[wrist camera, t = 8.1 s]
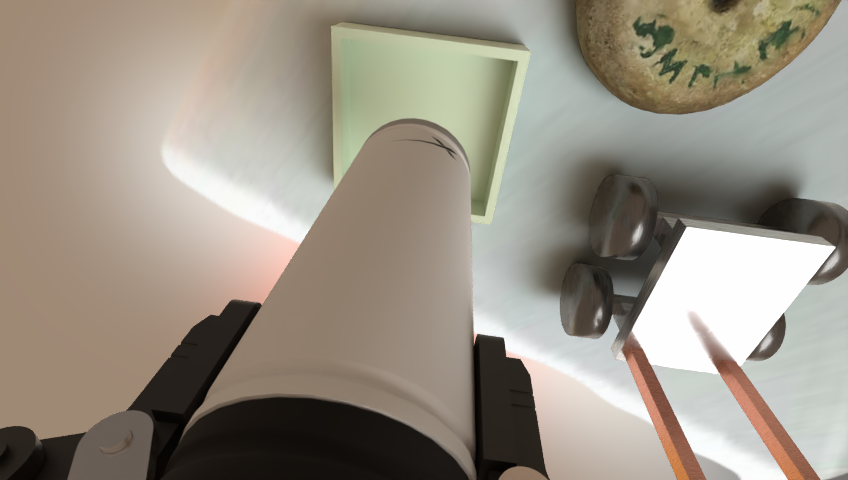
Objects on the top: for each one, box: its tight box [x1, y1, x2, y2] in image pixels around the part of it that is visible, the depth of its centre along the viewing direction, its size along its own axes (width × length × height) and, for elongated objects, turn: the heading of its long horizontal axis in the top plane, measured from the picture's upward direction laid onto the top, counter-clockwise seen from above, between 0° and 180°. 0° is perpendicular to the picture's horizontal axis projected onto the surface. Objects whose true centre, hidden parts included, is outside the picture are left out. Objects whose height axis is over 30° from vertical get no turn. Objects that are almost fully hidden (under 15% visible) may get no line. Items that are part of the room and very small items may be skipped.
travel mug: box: [160, 118, 477, 480], centre depth 14 cm, size 6×7×20 cm
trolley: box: [560, 174, 848, 480], centre depth 26 cm, size 14×15×20 cm
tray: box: [331, 22, 531, 224], centre depth 29 cm, size 12×12×3 cm
